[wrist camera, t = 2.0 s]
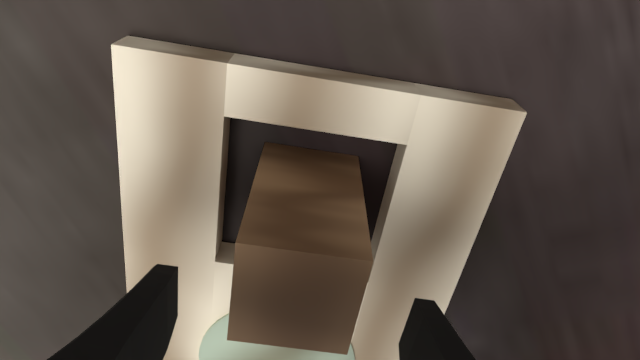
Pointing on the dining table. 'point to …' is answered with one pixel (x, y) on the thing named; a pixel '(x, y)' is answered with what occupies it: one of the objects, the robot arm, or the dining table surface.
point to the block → (301, 252)
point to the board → (306, 113)
